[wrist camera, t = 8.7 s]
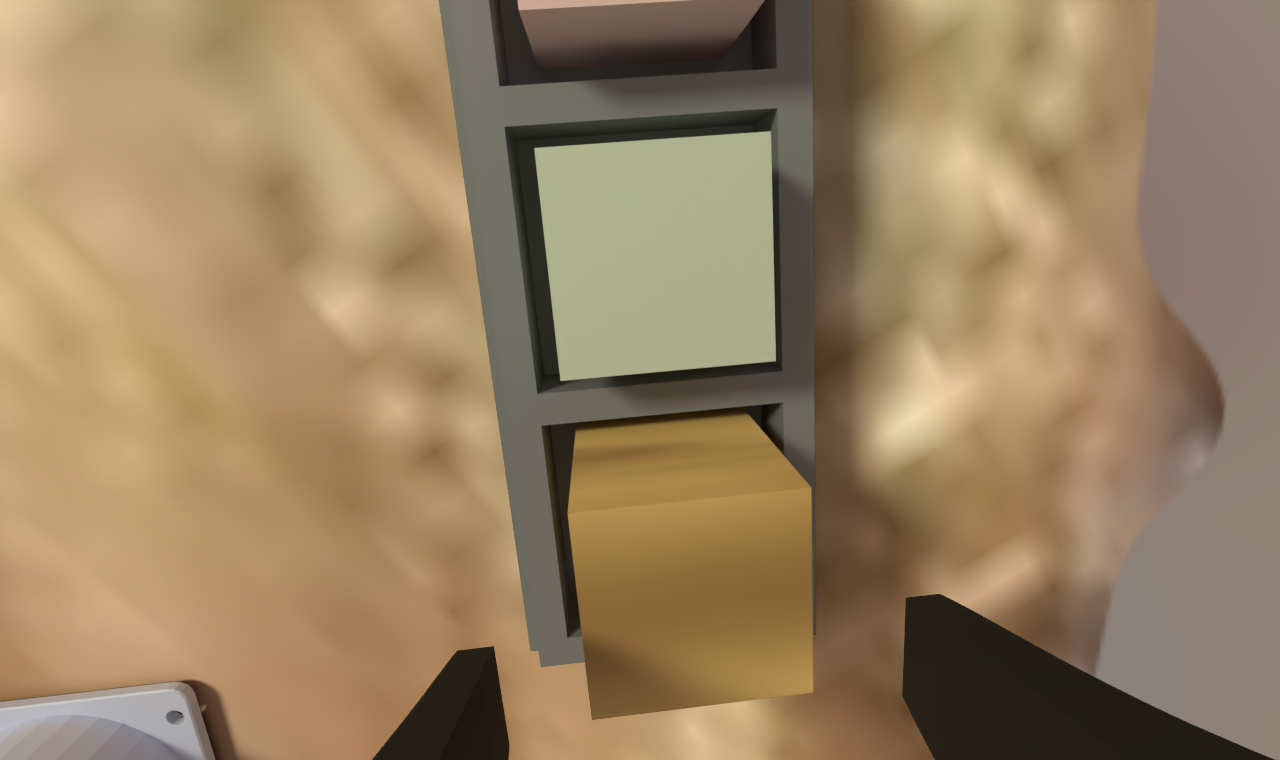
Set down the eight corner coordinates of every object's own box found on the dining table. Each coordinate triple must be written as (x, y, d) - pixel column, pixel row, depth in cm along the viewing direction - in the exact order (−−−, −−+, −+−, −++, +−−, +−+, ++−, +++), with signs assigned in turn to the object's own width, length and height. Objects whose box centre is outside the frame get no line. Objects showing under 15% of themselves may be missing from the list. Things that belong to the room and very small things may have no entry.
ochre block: (742, 543, 18) (813, 692, 12) (592, 559, 18) (591, 720, 12) (736, 400, 17) (811, 487, 11) (576, 415, 17) (567, 513, 11)
